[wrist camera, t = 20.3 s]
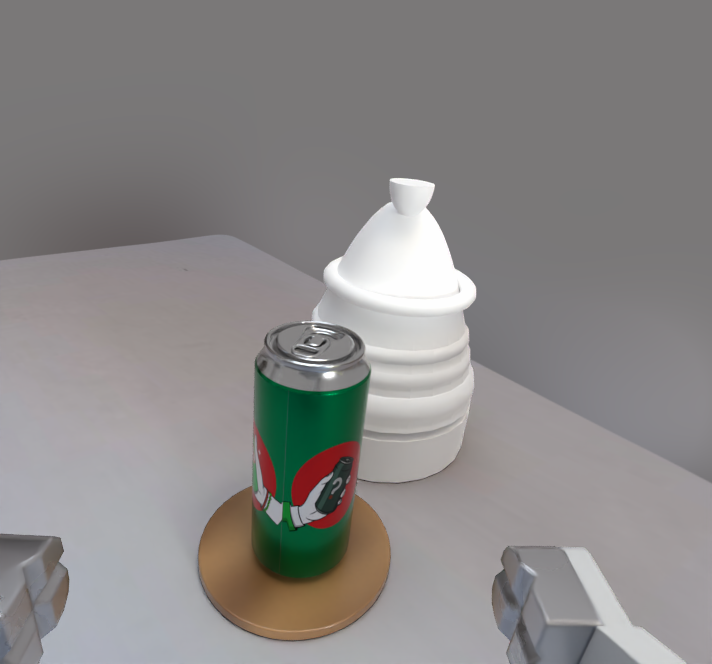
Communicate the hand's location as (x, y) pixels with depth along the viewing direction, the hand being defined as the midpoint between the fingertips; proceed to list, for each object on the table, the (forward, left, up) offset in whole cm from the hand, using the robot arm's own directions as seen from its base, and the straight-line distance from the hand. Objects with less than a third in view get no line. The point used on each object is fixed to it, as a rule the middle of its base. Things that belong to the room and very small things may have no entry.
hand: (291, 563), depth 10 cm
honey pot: (-5, +25, -15) cm, 29 cm away
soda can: (-5, +12, -14) cm, 19 cm away
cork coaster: (-5, +12, -14) cm, 19 cm away
